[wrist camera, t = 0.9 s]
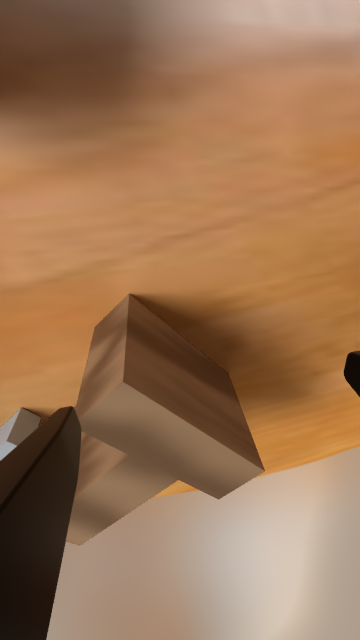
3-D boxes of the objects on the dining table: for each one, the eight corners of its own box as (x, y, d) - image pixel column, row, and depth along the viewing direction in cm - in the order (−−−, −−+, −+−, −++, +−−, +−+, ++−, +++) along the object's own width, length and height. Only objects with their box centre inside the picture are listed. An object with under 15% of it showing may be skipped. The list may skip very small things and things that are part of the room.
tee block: (129, 293, 22) (123, 381, 14) (228, 373, 28) (265, 471, 20) (22, 398, 26) (-30, 513, 18) (127, 450, 32) (122, 557, 24)
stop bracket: (21, 407, 27) (6, 441, 24) (117, 454, 32) (114, 486, 29) (-18, 444, 29) (-36, 480, 26) (78, 483, 34) (72, 517, 31)
